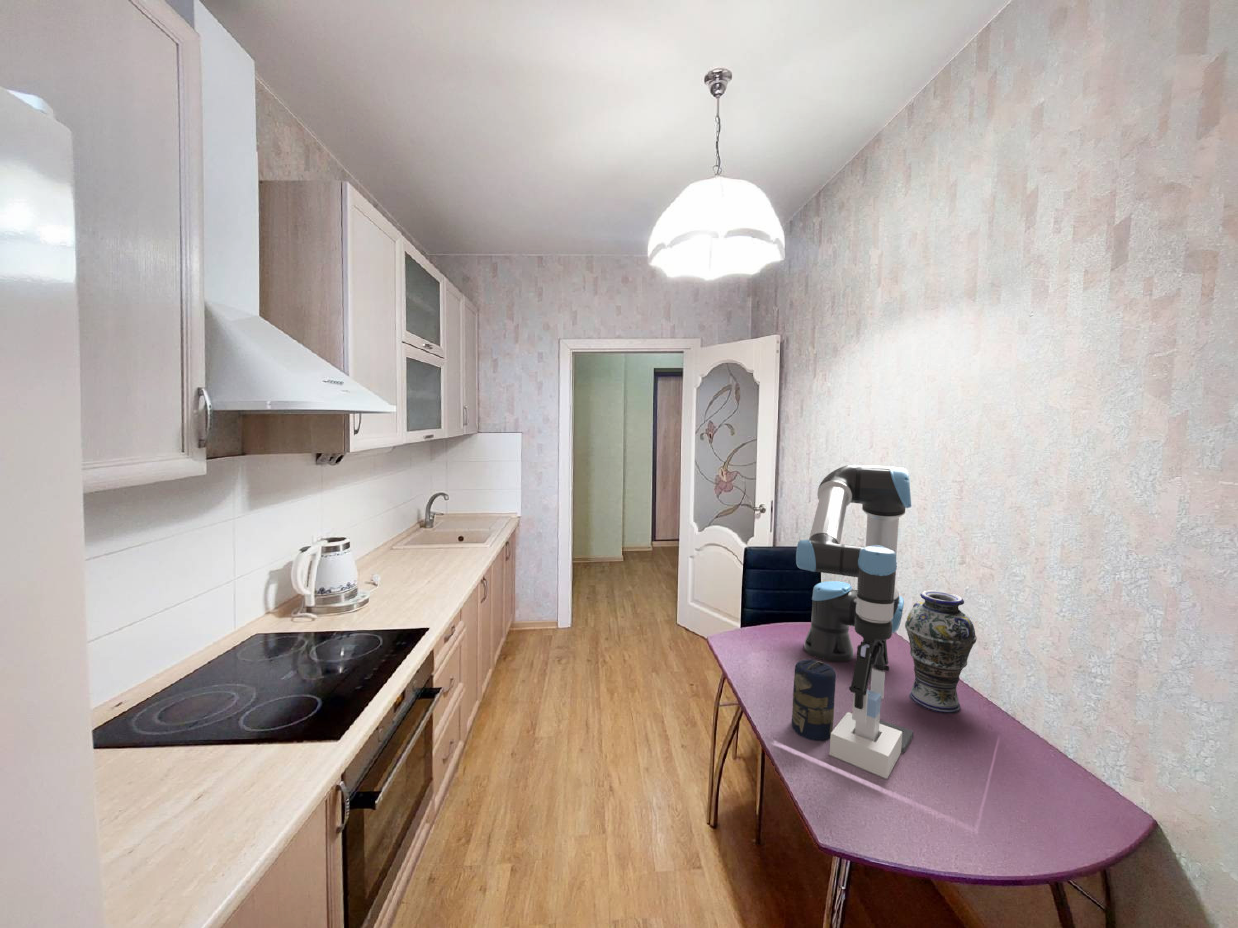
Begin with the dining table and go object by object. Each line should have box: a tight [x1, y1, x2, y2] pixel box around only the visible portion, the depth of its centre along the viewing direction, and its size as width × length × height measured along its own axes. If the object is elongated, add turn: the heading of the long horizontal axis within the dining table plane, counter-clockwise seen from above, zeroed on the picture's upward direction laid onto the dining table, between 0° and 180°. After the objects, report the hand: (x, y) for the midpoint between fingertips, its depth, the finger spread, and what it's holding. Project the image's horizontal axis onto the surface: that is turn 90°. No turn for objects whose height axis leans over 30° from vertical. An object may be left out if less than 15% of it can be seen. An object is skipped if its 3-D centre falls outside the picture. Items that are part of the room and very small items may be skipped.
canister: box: [791, 658, 837, 742], centre depth 128 cm, size 10×10×18 cm
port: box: [828, 711, 902, 780], centre depth 119 cm, size 12×12×6 cm
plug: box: [855, 689, 882, 742], centre depth 119 cm, size 4×4×14 cm
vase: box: [904, 590, 978, 714], centre depth 143 cm, size 17×17×30 cm
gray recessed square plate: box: [879, 718, 914, 754], centre depth 127 cm, size 9×9×2 cm
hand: (868, 708), depth 119 cm, fingers open, 13 cm apart
